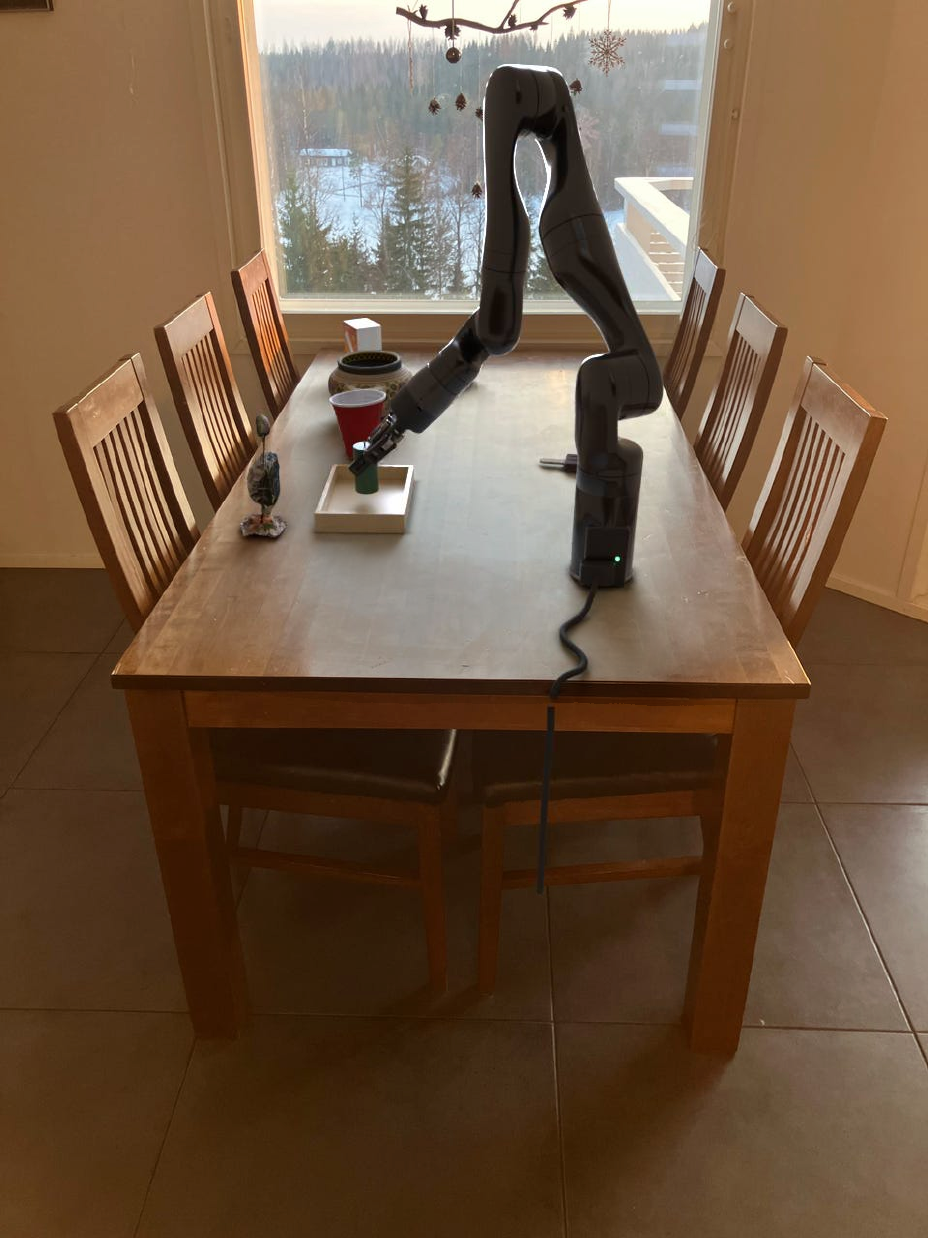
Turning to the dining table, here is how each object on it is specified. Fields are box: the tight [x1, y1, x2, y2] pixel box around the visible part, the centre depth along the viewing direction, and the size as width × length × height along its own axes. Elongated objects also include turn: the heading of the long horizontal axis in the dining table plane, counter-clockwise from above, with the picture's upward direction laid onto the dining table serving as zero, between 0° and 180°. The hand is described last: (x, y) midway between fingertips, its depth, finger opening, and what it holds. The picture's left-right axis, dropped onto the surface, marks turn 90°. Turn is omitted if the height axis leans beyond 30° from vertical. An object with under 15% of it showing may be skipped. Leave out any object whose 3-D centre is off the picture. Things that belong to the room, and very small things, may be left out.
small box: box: [343, 317, 383, 354], centre depth 231 cm, size 8×6×13 cm
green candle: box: [353, 441, 379, 494], centre depth 166 cm, size 4×4×9 cm
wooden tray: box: [314, 463, 415, 534], centre depth 169 cm, size 22×15×3 cm
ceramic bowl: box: [327, 349, 414, 422], centre depth 206 cm, size 24×18×15 cm
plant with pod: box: [239, 413, 288, 538], centre depth 157 cm, size 8×11×20 cm
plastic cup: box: [328, 389, 386, 460], centre depth 188 cm, size 11×11×12 cm
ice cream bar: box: [539, 453, 577, 473], centre depth 185 cm, size 5×2×15 cm
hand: (354, 466), depth 166 cm, fingers closed on green candle, 4 cm apart
